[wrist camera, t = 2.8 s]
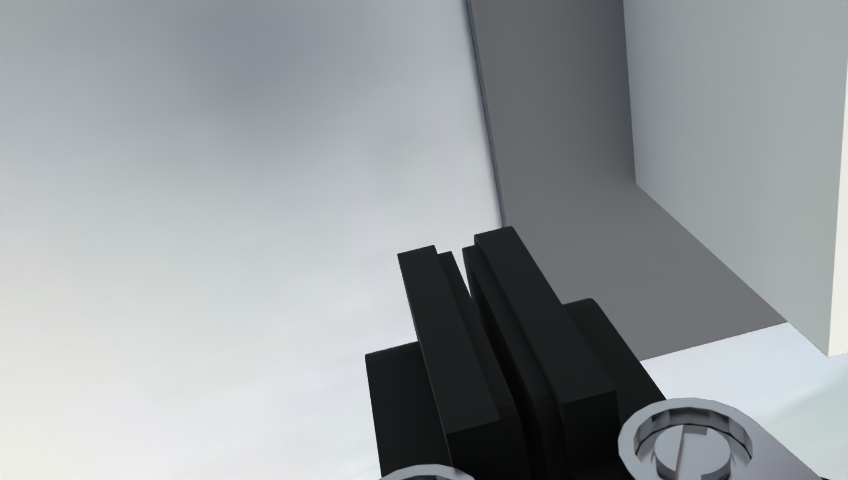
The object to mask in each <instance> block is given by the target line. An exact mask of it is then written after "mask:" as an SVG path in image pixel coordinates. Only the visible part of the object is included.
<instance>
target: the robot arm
mask: <svg viewBox="0 0 848 480" xmlns="http://www.w3.org/2000/svg"><path fill="white" fill-rule="evenodd" d="M474 244H475V245H473V246H469V247H465V248H462V252H463V259H464V264H465V269H466V274H467V279H468V284H469V289H470V294H471V297H470V295H469V292H468V290H467V287H466V285H465V283H464V280H463V278H462V275H461V273H460V271H459V268H458V266H457V264H456V261H455V259H454V256H453V254H452V252H451V251H449V252H445V253H441V254H437V251H436V248H435V246H434V245H431V246H427V247H423V248H419V249H415V250H411V251H407V252H403V253H399V254H397V256H398V260H399V265H400V269H401V273H402V277H403V281H404V285H405V289H406V294H407V298H408V302H409V306H410V310H411V314H412V318H413V322H414V327H415V331H416V335H417V339H418V341H416V342H412V343H408V344H404V345H401V346H397V347H393V348H389V349H385V350H381V351H377V352H373V353H369V354H365V362H366V369H367V376H368V383H369V390H370V398H371V405H372V412H373V419H374V426H375V433H376V441H377V448H378V455H379V462H380V469H381V476H382V478H381V479H379V480H829V479H826V478H822V477H819V476H818V475H817V474H816V473H814V472H813V471H812V470H811V469H810V468H809V467H808V466H806V465H805V464H804V463H803V462H802V461H801V460H799V459H798V458H797V457H796V456H795V455H794V454H793V453H791V452H790V451H789V450H788V449H787V448H786V447H784V446H783V445H782V444H781V443H780V442H779V441H778V440H776V439H775V438H774V437H773V436H772V435H771V434H769V433H768V432H767V431H766V430H765V429H764V428H763V427H761V426H760V425H759V424H758V423H757V422H756V421H754V420H753V419H752V418H750V417H749V416H747V415H746V414H744V413H743V412H741V411H739V410H738V409H736V408H734V407H731V406H728V405H726V404H723V403H720V402H717V401H713V400H706V399H699V398H674V399H668V400H667V399H666V398H665V397H664V395H663V394H662V392H661V391H660V390H659V388H658V387H657V386H656V384H655V383H654V381H653V380H652V379H651V377H650V376H649V374H648V373H647V372H646V370H645V369H644V367H643V366H642V365H641V363H640V362H639V360H638V359H637V358H636V356H635V355H634V354H633V352H632V351H631V349H630V348H629V347H628V345H627V344H626V342H625V341H624V340H623V338H622V337H621V335H620V334H619V333H618V331H617V330H616V329H615V327H614V326H613V324H612V323H611V322H610V320H609V319H608V317H607V316H606V315H605V313H604V312H603V310H602V309H601V308H600V306H599V305H598V304H597V302H596V301H595V300H594V299H593V298H586V299H582V300H578V301H574V302H570V303H566V304H562V303H561V302H560V300H559V299H558V297H557V296H556V294H555V292H554V291H553V289H552V288H551V286H550V284H549V283H548V281H547V280H546V278H545V277H544V275H543V273H542V272H541V270H540V269H539V267H538V266H537V264H536V262H535V261H534V259H533V258H532V256H531V254H530V253H529V251H528V250H527V248H526V247H525V245H524V243H523V242H522V240H521V239H520V237H519V235H518V234H517V232H516V231H515V229H514V228H513V227H512V226H508V227H504V228H500V229H496V230H492V231H488V232H484V233H480V234H476V235H474Z"/></svg>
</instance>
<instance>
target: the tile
mask: <svg viewBox="0 0 848 480" xmlns="http://www.w3.org/2000/svg"><path fill="white" fill-rule="evenodd" d="M623 5H624V19H625V33H626V48H627V62H628V76H629V90H630V105H631V119H632V133H633V148H634V162H635V176H636V184H637V185H638V186H639V187H640V188H641V189H642V190H644V191H645V192H646V193H647V194H648V195H649V196H650V197H651V198H652V199H653V200H655V201H656V202H657V203H658V204H659V205H660V206H661V207H662V208H663V209H664V210H666V211H667V212H668V213H669V214H670V215H671V216H672V217H673V218H674V219H675V220H677V221H678V222H679V223H680V224H681V225H682V226H683V227H684V228H685V229H686V230H688V231H689V232H690V233H691V234H692V235H693V236H694V237H695V238H696V239H698V240H699V241H700V242H701V243H702V244H703V245H704V246H705V247H706V248H707V249H709V250H710V251H711V252H712V253H713V254H714V255H715V256H716V257H717V258H718V259H720V260H721V261H722V262H723V263H724V264H725V265H726V266H727V267H728V268H729V269H731V270H732V271H733V272H734V273H735V274H736V275H737V276H738V277H739V278H740V279H742V280H743V281H744V282H745V283H746V284H747V285H748V286H749V287H750V288H752V289H753V290H754V291H755V292H756V293H757V294H758V295H759V296H760V297H761V298H763V299H764V300H765V301H766V302H767V303H768V304H769V305H770V306H771V307H772V308H774V309H775V310H776V311H777V312H778V313H779V314H780V315H781V316H782V317H783V318H785V319H786V320H787V321H788V322H789V323H790V324H791V325H792V326H793V327H794V328H796V329H797V330H798V331H799V332H800V333H801V334H802V335H803V336H804V337H806V338H807V339H808V340H809V341H810V342H811V343H812V344H813V345H814V346H815V347H817V348H818V349H819V350H820V351H821V352H822V353H823V354H824V355H825V356H826V357H828V358H830V357H834V356H837V355H841V354H845V353H848V0H623Z"/></svg>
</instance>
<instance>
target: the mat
mask: <svg viewBox="0 0 848 480" xmlns="http://www.w3.org/2000/svg"><path fill="white" fill-rule="evenodd" d="M467 6H468V12H469V18H470V25H471V31H472V37H473V43H474V49H475V55H476V61H477V67H478V74H479V80H480V86H481V92H482V98H483V104H484V110H485V116H486V123H487V129H488V135H489V141H490V147H491V153H492V159H493V165H494V171H495V178H496V184H497V190H498V196H499V202H500V208H501V214H502V220H503V227H508V226H512V227H513V228H514V229H515V231H516V232H517V234H518V235H519V237H520V239H521V240H522V242H523V243H524V245H525V247H526V248H527V250H528V251H529V253H530V254H531V256H532V258H533V259H534V261H535V262H536V264H537V266H538V267H539V269H540V270H541V272H542V273H543V275H544V277H545V278H546V280H547V281H548V283H549V284H550V286H551V288H552V289H553V291H554V292H555V294H556V296H557V297H558V299H559V300H560V302H561V303H562V304H566V303H570V302H574V301H578V300H582V299H586V298H593V299H594V300H595V301H596V302H597V304H598V305H599V306H600V308H601V309H602V310H603V312H604V313H605V315H606V316H607V317H608V319H609V320H610V322H611V323H612V324H613V326H614V327H615V329H616V330H617V331H618V333H619V334H620V335H621V337H622V338H623V340H624V341H625V342H626V344H627V345H628V347H629V348H630V349H631V351H632V352H633V354H634V355H635V356H636V358H637V359H638V360H639V361H642V360H646V359H650V358H654V357H657V356H661V355H665V354H669V353H672V352H676V351H680V350H684V349H688V348H691V347H695V346H699V345H703V344H707V343H710V342H714V341H718V340H722V339H725V338H729V337H733V336H737V335H741V334H744V333H748V332H752V331H756V330H759V329H763V328H767V327H771V326H775V325H778V324H782V323H786V322H788V321H787V320H786V319H785V318H783V317H782V316H781V315H780V314H779V313H778V312H777V311H776V310H775V309H774V308H772V307H771V306H770V305H769V304H768V303H767V302H766V301H765V300H764V299H763V298H761V297H760V296H759V295H758V294H757V293H756V292H755V291H754V290H753V289H752V288H750V287H749V286H748V285H747V284H746V283H745V282H744V281H743V280H742V279H740V278H739V277H738V276H737V275H736V274H735V273H734V272H733V271H732V270H731V269H729V268H728V267H727V266H726V265H725V264H724V263H723V262H722V261H721V260H720V259H718V258H717V257H716V256H715V255H714V254H713V253H712V252H711V251H710V250H709V249H707V248H706V247H705V246H704V245H703V244H702V243H701V242H700V241H699V240H698V239H696V238H695V237H694V236H693V235H692V234H691V233H690V232H689V231H688V230H686V229H685V228H684V227H683V226H682V225H681V224H680V223H679V222H678V221H677V220H675V219H674V218H673V217H672V216H671V215H670V214H669V213H668V212H667V211H666V210H664V209H663V208H662V207H661V206H660V205H659V204H658V203H657V202H656V201H655V200H653V199H652V198H651V197H650V196H649V195H648V194H647V193H646V192H645V191H644V190H642V189H641V188H640V187H639V186H638V185H637V184H636V176H635V162H634V148H633V133H632V119H631V105H630V90H629V76H628V62H627V48H626V33H625V19H624V5H623V0H467Z"/></svg>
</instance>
